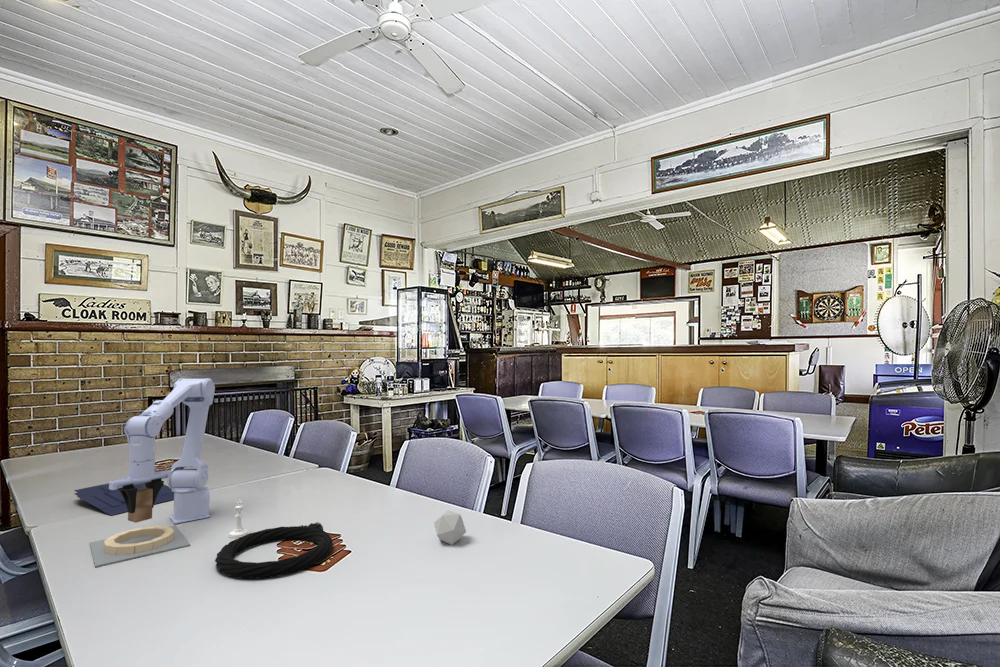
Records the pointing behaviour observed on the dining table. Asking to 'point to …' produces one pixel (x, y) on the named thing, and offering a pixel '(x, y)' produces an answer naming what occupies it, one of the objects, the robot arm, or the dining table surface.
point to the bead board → (120, 558)
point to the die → (450, 527)
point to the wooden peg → (142, 505)
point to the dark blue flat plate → (116, 497)
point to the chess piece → (238, 523)
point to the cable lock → (274, 567)
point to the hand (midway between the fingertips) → (140, 510)
